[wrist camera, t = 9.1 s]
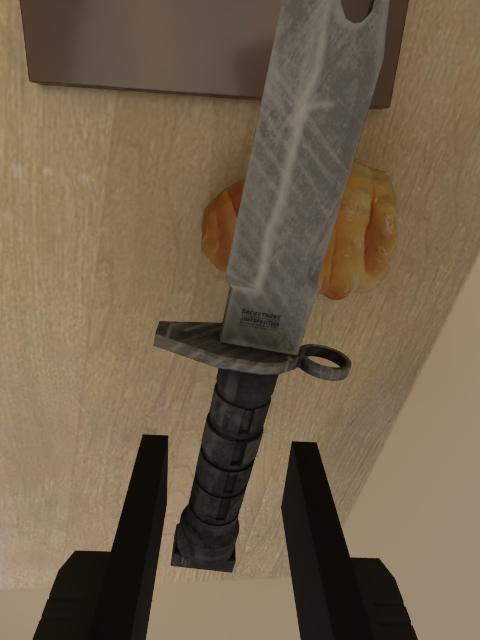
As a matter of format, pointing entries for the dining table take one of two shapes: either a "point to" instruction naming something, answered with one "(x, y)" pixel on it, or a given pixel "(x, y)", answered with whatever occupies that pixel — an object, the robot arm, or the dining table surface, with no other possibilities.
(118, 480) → the dining table surface
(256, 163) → the knife
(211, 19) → the cutting board
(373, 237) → the pastry
